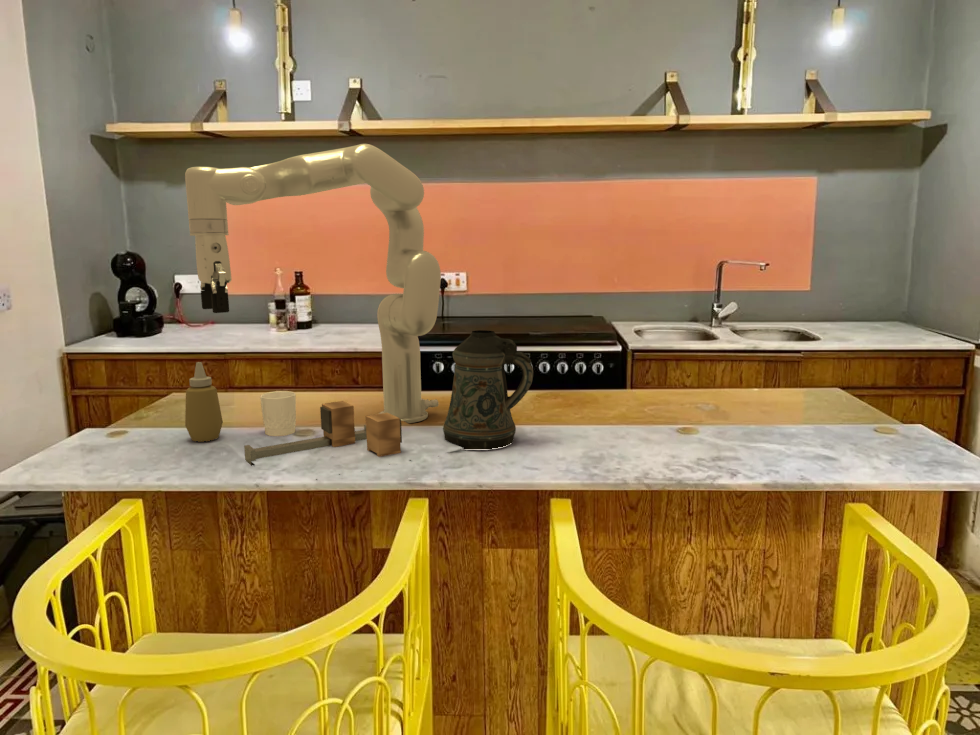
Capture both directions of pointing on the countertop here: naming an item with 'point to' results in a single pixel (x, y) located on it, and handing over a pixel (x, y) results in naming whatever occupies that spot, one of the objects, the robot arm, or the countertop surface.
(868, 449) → the countertop surface
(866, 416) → the countertop surface
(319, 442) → the rail
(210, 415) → the squeeze bottle
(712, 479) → the countertop surface
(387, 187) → the robot arm
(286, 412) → the white cup
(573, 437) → the countertop surface
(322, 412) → the wooden block
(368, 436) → the brown capped cube
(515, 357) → the beer stein
